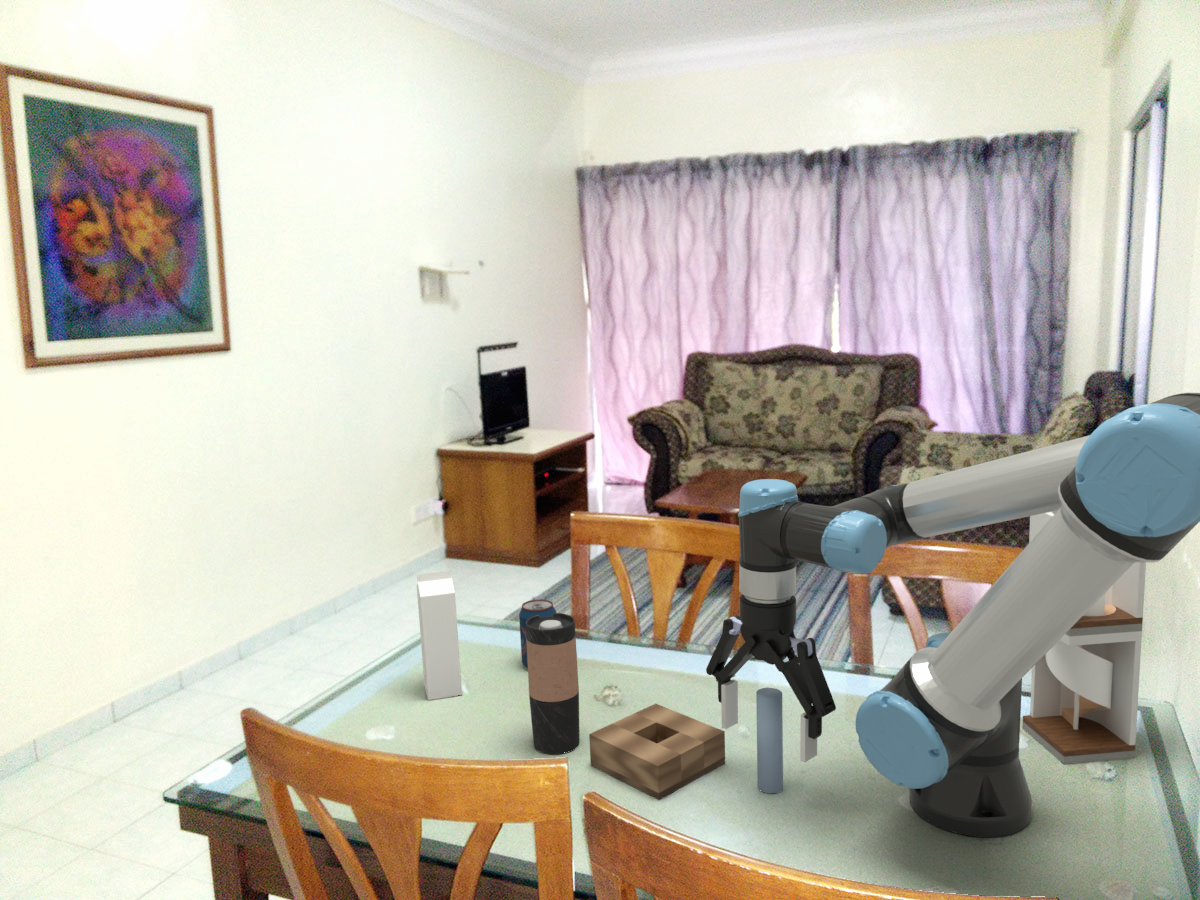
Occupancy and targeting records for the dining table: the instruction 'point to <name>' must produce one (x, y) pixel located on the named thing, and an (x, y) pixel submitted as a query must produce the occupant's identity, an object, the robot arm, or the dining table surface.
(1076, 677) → the spiral staircase model
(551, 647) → the travel mug
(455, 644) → the milk
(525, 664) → the soda can
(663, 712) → the bore block
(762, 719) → the pin
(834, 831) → the dining table surface
